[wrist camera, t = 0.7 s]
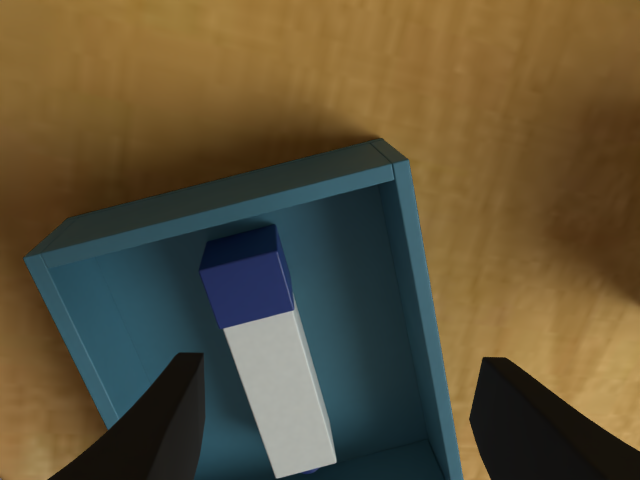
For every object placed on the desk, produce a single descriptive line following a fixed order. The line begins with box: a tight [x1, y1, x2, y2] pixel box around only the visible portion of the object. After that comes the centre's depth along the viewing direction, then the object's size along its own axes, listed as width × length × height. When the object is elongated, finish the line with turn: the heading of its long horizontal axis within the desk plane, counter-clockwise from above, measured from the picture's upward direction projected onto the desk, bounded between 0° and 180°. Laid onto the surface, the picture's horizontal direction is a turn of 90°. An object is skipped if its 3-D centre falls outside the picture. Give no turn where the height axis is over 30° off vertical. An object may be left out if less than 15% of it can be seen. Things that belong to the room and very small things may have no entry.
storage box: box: [23, 138, 464, 480], centre depth 22 cm, size 13×16×4 cm
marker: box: [198, 225, 337, 479], centre depth 22 cm, size 12×3×3 cm, turn 13°
